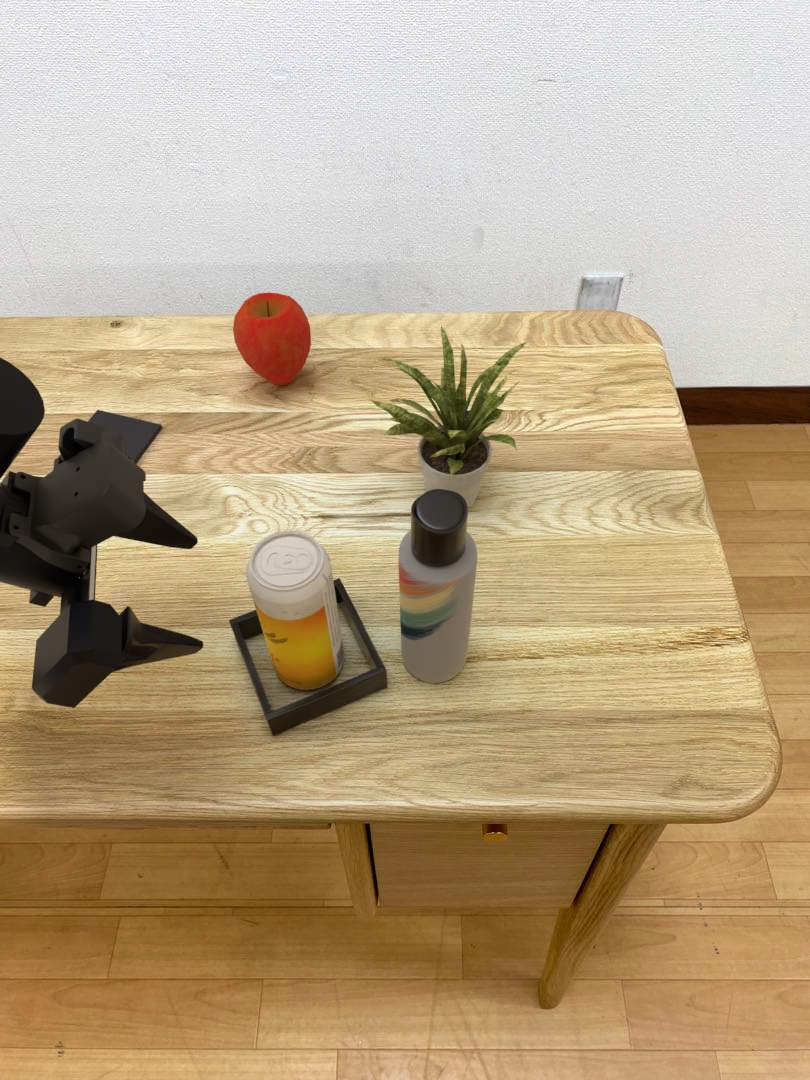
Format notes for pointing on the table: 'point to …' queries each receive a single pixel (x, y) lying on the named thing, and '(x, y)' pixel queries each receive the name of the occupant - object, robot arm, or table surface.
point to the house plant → (453, 423)
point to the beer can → (297, 608)
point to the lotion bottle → (436, 586)
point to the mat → (128, 431)
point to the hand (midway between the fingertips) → (197, 593)
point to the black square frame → (324, 699)
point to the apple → (273, 336)
